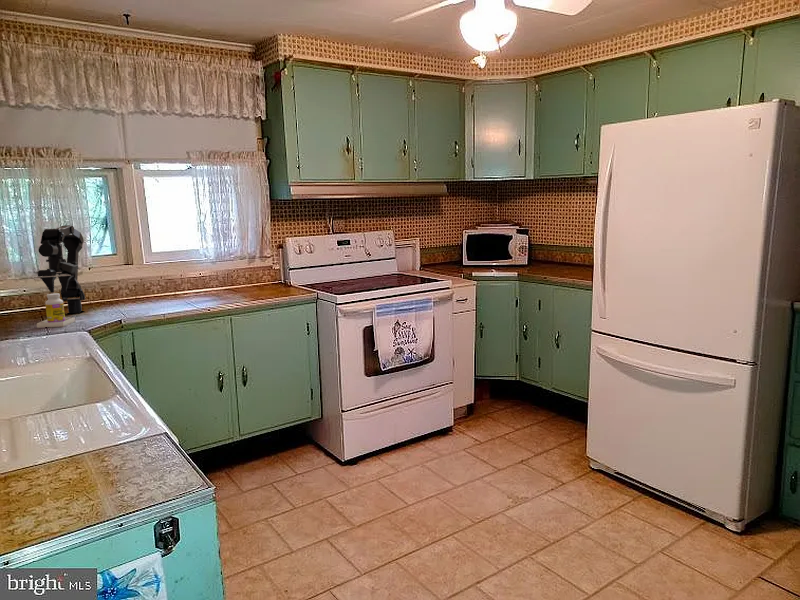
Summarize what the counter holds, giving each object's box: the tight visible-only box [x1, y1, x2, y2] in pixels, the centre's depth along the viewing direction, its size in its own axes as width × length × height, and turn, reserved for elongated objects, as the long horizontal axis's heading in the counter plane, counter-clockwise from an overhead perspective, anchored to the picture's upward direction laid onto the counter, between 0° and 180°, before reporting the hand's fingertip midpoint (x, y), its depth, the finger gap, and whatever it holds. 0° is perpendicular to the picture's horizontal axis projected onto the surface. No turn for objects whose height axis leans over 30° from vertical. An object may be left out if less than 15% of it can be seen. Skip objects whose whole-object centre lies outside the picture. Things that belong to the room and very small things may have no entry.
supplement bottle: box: [44, 293, 66, 323], centre depth 244 cm, size 7×7×13 cm
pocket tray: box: [36, 317, 76, 329], centre depth 245 cm, size 12×11×2 cm
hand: (58, 291), depth 255 cm, fingers open, 9 cm apart
